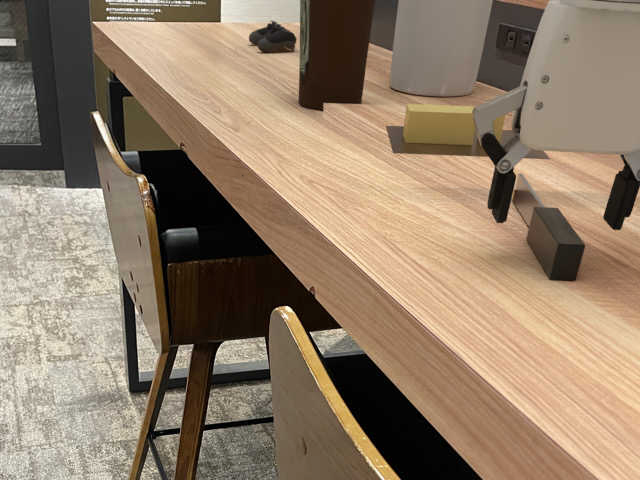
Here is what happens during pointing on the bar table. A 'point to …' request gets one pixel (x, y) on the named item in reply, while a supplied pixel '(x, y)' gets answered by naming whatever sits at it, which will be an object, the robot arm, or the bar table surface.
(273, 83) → the bar table surface
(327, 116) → the bar table surface
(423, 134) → the butter block
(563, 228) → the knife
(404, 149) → the cutting board
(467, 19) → the utensil holder
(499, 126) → the butter slice
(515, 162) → the robot arm
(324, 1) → the olive oil
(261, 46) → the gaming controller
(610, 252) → the bar table surface
